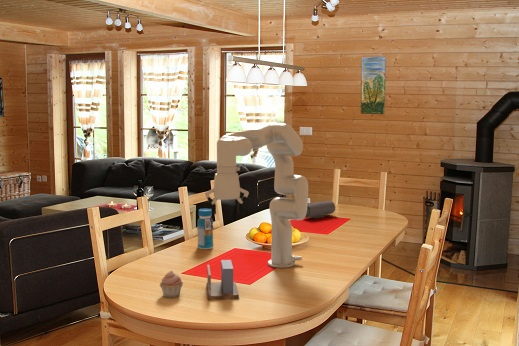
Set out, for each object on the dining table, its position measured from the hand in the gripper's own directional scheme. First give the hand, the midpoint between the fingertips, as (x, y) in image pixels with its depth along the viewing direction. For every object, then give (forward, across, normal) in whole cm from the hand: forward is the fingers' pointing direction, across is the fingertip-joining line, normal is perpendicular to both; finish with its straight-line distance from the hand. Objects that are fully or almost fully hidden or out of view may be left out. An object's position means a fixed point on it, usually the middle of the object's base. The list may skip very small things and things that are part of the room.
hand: (227, 213), depth 229 cm
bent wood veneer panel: (+32, +2, 0) cm, 32 cm away
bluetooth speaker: (+34, -69, -135) cm, 155 cm away
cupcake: (+32, +22, +1) cm, 39 cm away
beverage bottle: (+33, +6, -69) cm, 76 cm away
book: (+31, 0, 0) cm, 31 cm away
